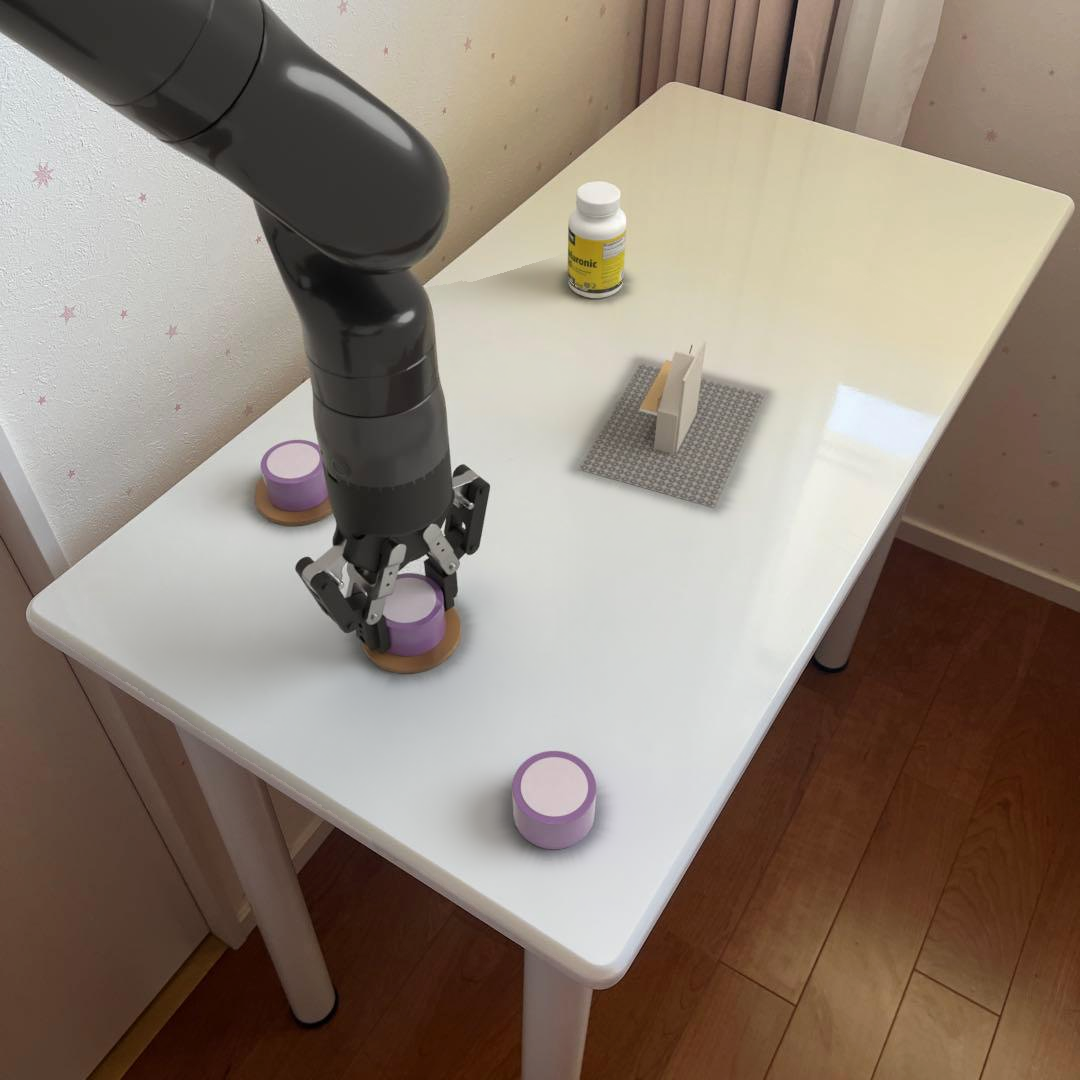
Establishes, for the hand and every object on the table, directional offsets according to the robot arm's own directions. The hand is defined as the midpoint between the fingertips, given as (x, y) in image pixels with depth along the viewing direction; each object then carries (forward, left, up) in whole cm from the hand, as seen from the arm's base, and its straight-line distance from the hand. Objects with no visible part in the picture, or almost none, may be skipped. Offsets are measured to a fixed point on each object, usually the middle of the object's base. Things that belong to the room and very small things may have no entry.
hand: (409, 622), depth 77 cm
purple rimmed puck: (-2, -17, -1) cm, 17 cm away
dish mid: (0, 0, -1) cm, 1 cm away
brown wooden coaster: (0, 0, -1) cm, 1 cm away
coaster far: (+2, +17, -1) cm, 17 cm away
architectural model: (+29, +2, -1) cm, 30 cm away
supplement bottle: (+39, +22, -1) cm, 45 cm away
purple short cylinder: (+2, +17, -1) cm, 17 cm away
